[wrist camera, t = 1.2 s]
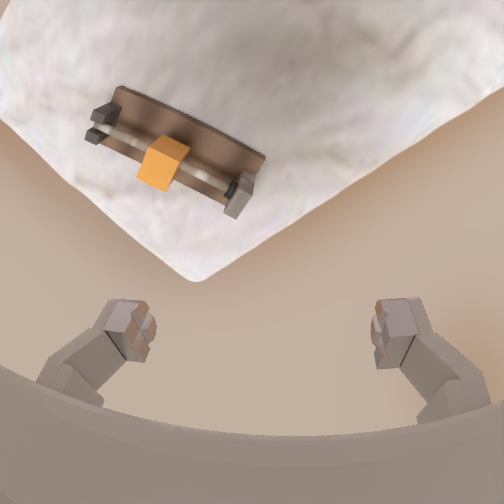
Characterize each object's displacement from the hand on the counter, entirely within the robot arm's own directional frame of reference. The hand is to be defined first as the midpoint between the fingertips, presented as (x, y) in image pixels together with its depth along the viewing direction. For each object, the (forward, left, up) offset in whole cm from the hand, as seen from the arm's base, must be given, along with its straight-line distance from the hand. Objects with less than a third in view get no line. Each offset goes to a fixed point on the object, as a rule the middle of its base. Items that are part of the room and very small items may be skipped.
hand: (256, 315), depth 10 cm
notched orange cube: (-8, -10, -28) cm, 31 cm away
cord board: (-9, -10, -32) cm, 34 cm away
